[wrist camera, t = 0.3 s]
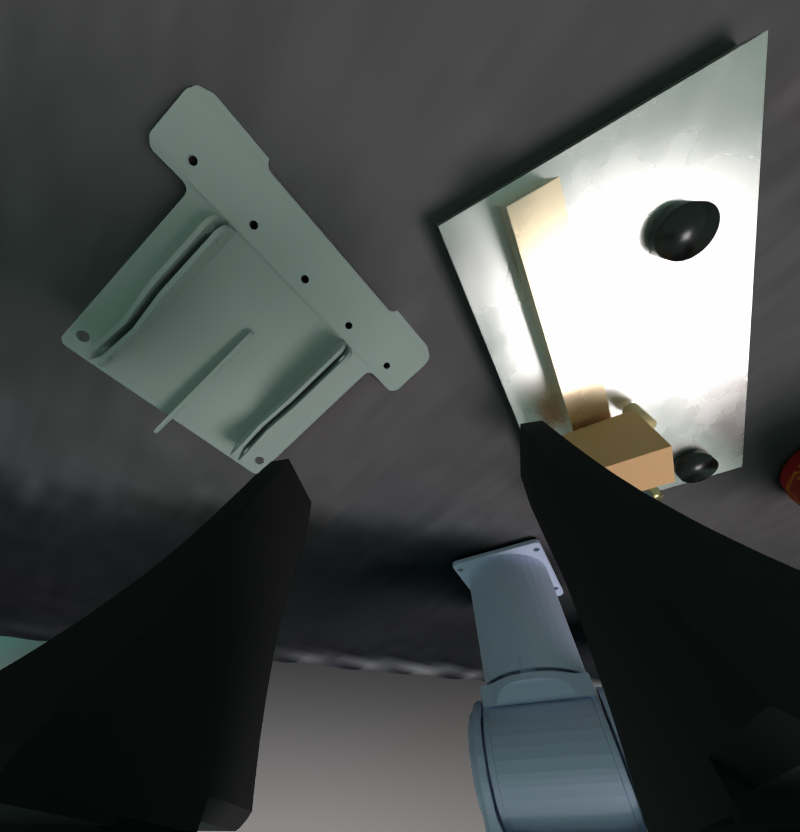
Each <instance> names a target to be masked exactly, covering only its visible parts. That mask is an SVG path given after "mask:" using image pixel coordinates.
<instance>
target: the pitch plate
mask: <svg viewBox="0 0 800 832" xmlns="http://www.w3.org/2000/svg"><path fill="white" fill-rule="evenodd" d="M767 40H768V30H767V31H765V32H763V33H761V34H759V35H756V36H754V37H752V38H750V39H748V40H746V41H743V42H741V43H739V44H737V45H735V46H734V47H732V48H730V49H729V50H727V51H725V52H724V53H722V54H720V55H719V56H717V57H715V58H714V59H712V60H710V61H709V62H707V63H705V64H704V65H702V66H700V67H699V68H697V69H695V70H694V71H692V72H690V73H689V74H687V75H685V76H684V77H682V78H680V79H679V80H677V81H675V82H674V83H672V84H670V85H669V86H667V87H665V88H663V89H662V90H660V91H658V92H657V93H655V94H653V95H652V96H650V97H648V98H647V99H645V100H643V101H642V102H640V103H638V104H637V105H635V106H633V107H632V108H630V109H628V110H627V111H625V112H623V113H622V114H620V115H618V116H617V117H615V118H613V119H612V120H610V121H608V122H607V123H605V124H603V125H602V126H600V127H598V128H597V129H595V130H593V131H592V132H590V133H588V134H587V135H585V136H583V137H581V138H580V139H578V140H576V141H575V142H573V143H571V144H570V145H568V146H566V147H565V148H563V149H561V150H560V151H558V152H556V153H555V154H553V155H551V156H550V157H548V158H546V159H545V160H543V161H541V162H540V163H538V164H536V165H535V166H533V167H531V168H530V169H528V170H526V171H525V172H523V173H521V174H520V175H518V176H516V177H515V178H513V179H511V180H510V181H508V182H506V183H505V184H503V185H501V186H500V187H498V188H496V189H494V190H493V191H491V192H489V193H488V194H486V195H484V196H483V197H481V198H479V199H478V200H476V201H474V202H473V203H471V204H469V205H468V206H466V207H464V208H463V209H461V210H459V211H458V212H456V213H454V214H453V215H451V216H449V217H448V218H446V219H444V220H443V221H441V222H439V223H438V224H436V225H437V227H438V230H439V232H440V235H441V237H442V240H443V242H444V245H445V247H446V249H447V252H448V254H449V257H450V259H451V262H452V264H453V267H454V269H455V272H456V274H457V276H458V279H459V281H460V284H461V286H462V289H463V291H464V294H465V296H466V298H467V301H468V303H469V306H470V308H471V311H472V313H473V316H474V318H475V320H476V323H477V325H478V328H479V330H480V333H481V335H482V338H483V340H484V342H485V345H486V347H487V350H488V352H489V355H490V357H491V360H492V362H493V365H494V367H495V369H496V372H497V374H498V377H499V379H500V382H501V384H502V387H503V389H504V391H505V394H506V396H507V399H508V401H509V404H510V406H511V409H512V411H513V413H514V416H515V418H516V421H517V423H518V426H519V428H520V424H522V423H528V422H535V421H541V420H542V421H544V422H545V423H546V424H548V425H549V426H550V427H551V428H553V429H554V430H555V431H557V432H558V433H559V434H560V435H564V434H567V433H570V432H572V431H575V430H578V429H581V428H584V427H586V426H589V425H592V424H595V423H598V422H600V421H603V420H606V419H609V418H611V417H614V416H617V415H620V414H622V410H623V408H624V407H625V406H626V405H628V404H630V403H636V404H638V405H639V406H640V407H641V408H642V409H643V410H645V411H646V412H647V413H648V414H649V415H650V416H651V417H652V418H653V419H655V420H656V422H657V425H656V427H655V428H654V430H655V431H657V432H658V433H659V434H660V435H661V436H662V437H663V438H664V439H665V440H666V441H667V442H668V443H669V444H670V445H671V446H672V453H673V463H674V474H675V482H672V483H668V484H665V485H662V486H658V487H655V488H651V489H648V490H644V491H642V492H644V493H646V494H647V495H649V496H651V497H652V498H654V499H656V500H658V501H660V500H661V499H662V498H663V497H664V495H663V493H662V492H661V491H660V490H663V489H667V488H670V487H673V486H677V485H680V484H684V483H695V482H699V481H702V480H705V479H707V478H709V477H710V476H712V475H715V474H719V473H722V472H725V471H729V470H732V469H736V468H739V467H742V460H743V443H744V426H745V409H746V393H747V376H748V359H749V342H750V325H751V309H752V292H753V275H754V258H755V241H756V225H757V208H758V191H759V174H760V157H761V141H762V124H763V107H764V90H765V73H766V57H767Z"/></svg>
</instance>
